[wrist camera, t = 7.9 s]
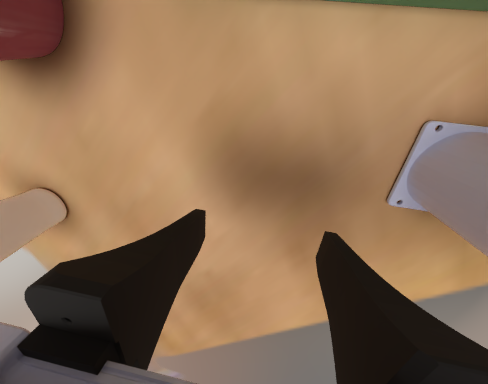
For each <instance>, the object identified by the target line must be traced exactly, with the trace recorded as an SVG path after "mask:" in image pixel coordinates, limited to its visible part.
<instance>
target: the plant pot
mask: <svg viewBox="0 0 488 384" xmlns="http://www.w3.org/2000/svg"><path fill="white" fill-rule="evenodd" d="M63 27H64V13H63V5H62V1H61V0H0V61H2V60H13V59H24V58H36V57H43V56H46V55H48V54H50V53H51V52H53V51H54V50H55V49H56V48H57V46H58V44H59V43H60V40H61V37H62V34H63Z"/></svg>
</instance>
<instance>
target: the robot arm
mask: <svg viewBox="0 0 488 384" xmlns="http://www.w3.org/2000/svg"><path fill="white" fill-rule="evenodd" d="M438 125H439V129H438V130H436V131H435V128H436V127H437V126H438ZM399 200H401V201H400V202H399V203H397V201H399ZM387 203H388V204H389V205H391V206H397V207H403V208H410V209H416V210H422V211H429V212H430V213H431V214H433V215H434V216H435V217H436V218H438V219H439V220H440V221H442V222H443V223H444V224H446V225H447V226H448V227H450V228H451V229H452V230H453V231H455V232H456V233H457V234H459V235H460V236H461V237H463V238H464V239H465V240H467V241H468V242H469V243H470V244H472V245H473V246H474V247H476V248H477V249H478V250H480V251H481V252H482V253H484V254H485V255H486V256H487V257H488V127H483V126H475V125H466V124H458V123H449V122H440V121H428V122H426V123H425V124H424V126H423V127H422V129H421V131H420V133H419V135H418V137H417V139H416V142H415V144H414V146H413V148H412V150H411V152H410V154H409V156H408V158H407V160H406V162H405V164H404V166H403V168H402V170H401V172H400V174H399V176H398V178H397V180H396V182H395V184H394V186H393V188H392V190H391V192H390V195H389V197H388V199H387ZM204 239H205V210H199V209H195V210H193V211H192V212H190V213H189V214H187V215H185V216H184V217H182V218H181V219H179V220H177V221H176V222H174V223H172V224H171V225H169V226H167V227H165V228H163V229H161V230H159V231H158V232H156V233H154V234H152V235H149V236H147V237H145V238H143V239H140V240H138V241H136V242H133V243H130V244H127V245H125V246H122V247H119V248H116V249H113V250H110V251H107V252H103V253H100V254H96V255H92V256H88V257H84V258H80V259H75V260H71V261H66V262H61V263H59V264H58V265H56V266H55V267H54V268H53V269H51V270H50V271H49V272H47V273H46V274H45V275H43V276H42V277H41V278H40V279H38V280H37V281H36V282H34V283H33V284H32V285H30V286H29V287H28V288H27V289H26V291H25V301H26V303H27V305H28V307H29V308H30V310H31V311H32V313H33V315H34V316H35V318H36V320H37V321H38V323H39V324H40V325H39V326H38V327H36V329H34V330H33V331H32V332H29V331H28V330H26V329H24V328H21V327H17V326H13V325H9V324H6V323H2V322H0V384H197V383H193V382H189V381H185V380H181V379H178V378H174V377H170V376H166V375H162V374H158V373H154V372H150V371H147V369H148V366H149V363H150V360H151V358H152V355H153V352H154V350H155V347H156V344H157V342H158V339H159V336H160V334H161V331H162V329H163V326H164V324H165V321H166V319H167V316H168V314H169V311H170V309H171V307H172V304H173V302H174V300H175V297H176V295H177V293H178V290H179V288H180V286H181V284H182V282H183V280H184V279H185V277H186V275H187V273H188V271H189V270H190V268H191V266H192V264H193V262H194V260H195V259H196V257H197V255H198V253H199V251H200V249H201V246H202V244H203V241H204ZM316 265H317V273H318V278H319V282H320V286H321V290H322V294H323V298H324V302H325V306H326V310H327V314H328V319H329V325H330V331H331V338H332V345H333V354H334V361H335V370H336V380H337V384H488V349H486V348H484V347H483V346H481V345H479V344H478V343H476V342H474V341H472V340H471V339H469V338H467V337H465V336H464V335H462V334H460V333H459V332H457V331H455V330H454V329H452V328H451V327H449V326H448V325H446V324H444V323H443V322H441V321H440V320H438V319H437V318H435V317H433V316H432V315H430V314H429V313H427V312H426V311H425V310H423V309H422V308H420V307H419V306H417V305H416V304H415V303H413V302H412V301H411V300H409V299H408V298H406V297H405V296H404V295H403V294H401V293H400V292H399V291H397V290H396V289H395V288H394V287H392V286H391V285H390V284H389V283H387V282H386V281H385V280H384V279H383V278H382V277H380V276H379V275H378V274H377V273H376V272H375V271H374V270H373V269H372V268H370V267H369V266H368V265H367V264H366V263H365V262H364V261H363V260H362V259H361V258H360V257H359V256H358V255H357V254H356V253H355V252H354V251H353V250H352V249H351V248H350V247H349V246H348V245H347V244H346V243H345V242H344V241H343V239H342V238H341V237H340V236H339V235H337V234H336V233H332V232H327V231H325V233H324V236H323V239H322V241H321V244H320V247H319V250H318V253H317V255H316Z"/></svg>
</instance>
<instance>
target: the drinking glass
mask: <svg viewBox="0 0 488 384" xmlns="http://www.w3.org/2000/svg"><path fill="white" fill-rule="evenodd" d="M66 215H67V210H66V207H65V205H64V203H63V201H62V200H61V199H60V198H59V197H58V196H57V195H56V194H54V193H53V192H51V191H49V190H46V189H41V188H37V189H32V190H29V191H26V192H24V193H21V194H18V195H15V196H12V197H9V198H6V199H2V200H0V262H1V261H2V260H4V259H5V258H7V257H8V256H10V255H11V254H13V253H14V252H16V251H17V250H19V249H20V248H22V247H23V246H24V245H26V244H27V243H29V242H30V241H32V240H33V239H35V238H36V237H38V236H39V235H41V234H42V233H44V232H45V231H47V230H48V229H50V228H51V227H53V226H55V225H56V224H58V223H60V222H61V221H63V220H64V219H65V217H66Z"/></svg>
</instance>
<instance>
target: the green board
mask: <svg viewBox="0 0 488 384" xmlns="http://www.w3.org/2000/svg"><path fill="white" fill-rule="evenodd" d="M326 1H342V2H357V3H372V4H387V5H402V6H417V7H432V8H447V9H462V10H477V11H488V0H326Z"/></svg>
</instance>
